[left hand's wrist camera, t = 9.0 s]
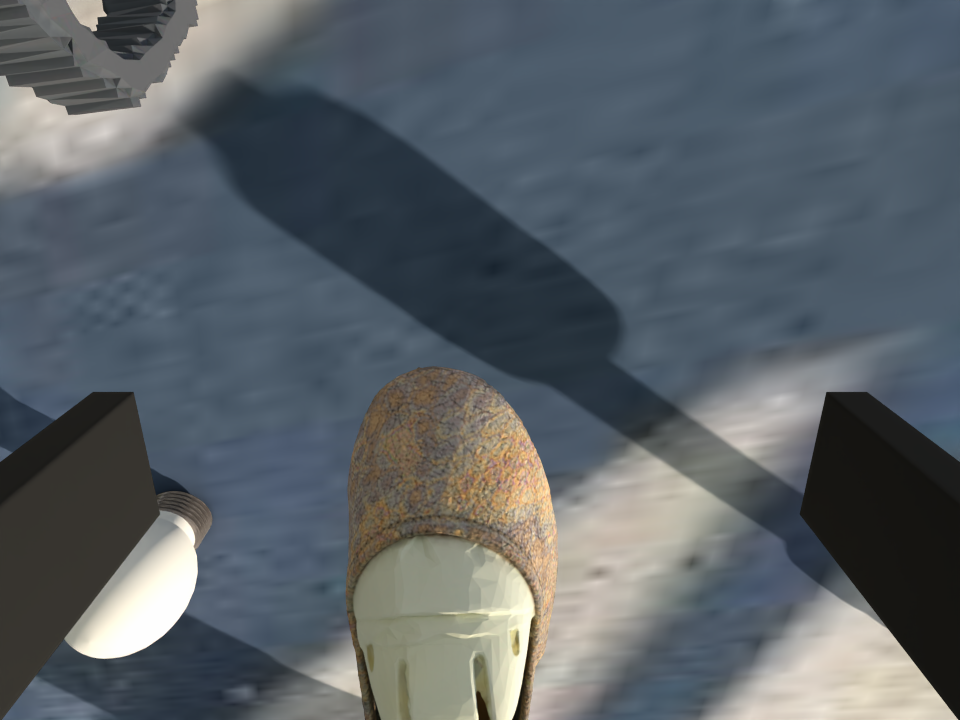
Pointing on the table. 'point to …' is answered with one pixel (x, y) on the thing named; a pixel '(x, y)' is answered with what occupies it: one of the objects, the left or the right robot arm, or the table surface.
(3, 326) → the table surface
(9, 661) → the left robot arm
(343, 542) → the table surface
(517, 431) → the ballet flat
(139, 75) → the toy
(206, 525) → the light bulb
